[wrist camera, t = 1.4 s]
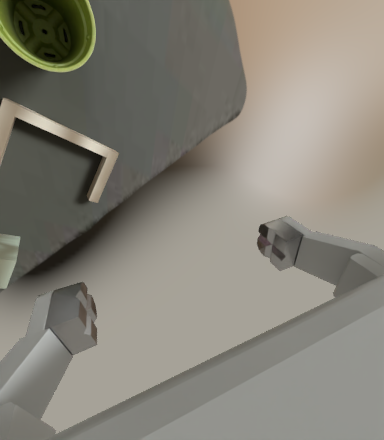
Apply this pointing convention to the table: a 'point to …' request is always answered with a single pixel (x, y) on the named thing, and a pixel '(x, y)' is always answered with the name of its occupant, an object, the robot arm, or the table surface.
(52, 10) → the plant pot
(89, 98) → the table surface
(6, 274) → the block
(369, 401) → the robot arm
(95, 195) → the beige u-shaped bracket
